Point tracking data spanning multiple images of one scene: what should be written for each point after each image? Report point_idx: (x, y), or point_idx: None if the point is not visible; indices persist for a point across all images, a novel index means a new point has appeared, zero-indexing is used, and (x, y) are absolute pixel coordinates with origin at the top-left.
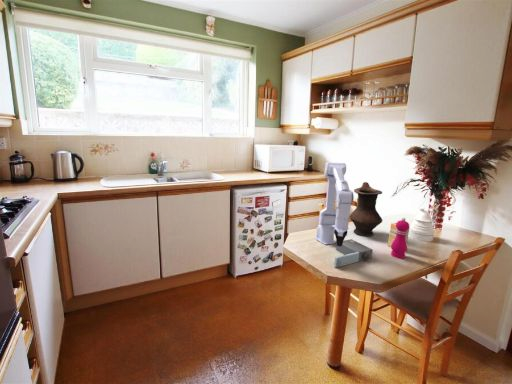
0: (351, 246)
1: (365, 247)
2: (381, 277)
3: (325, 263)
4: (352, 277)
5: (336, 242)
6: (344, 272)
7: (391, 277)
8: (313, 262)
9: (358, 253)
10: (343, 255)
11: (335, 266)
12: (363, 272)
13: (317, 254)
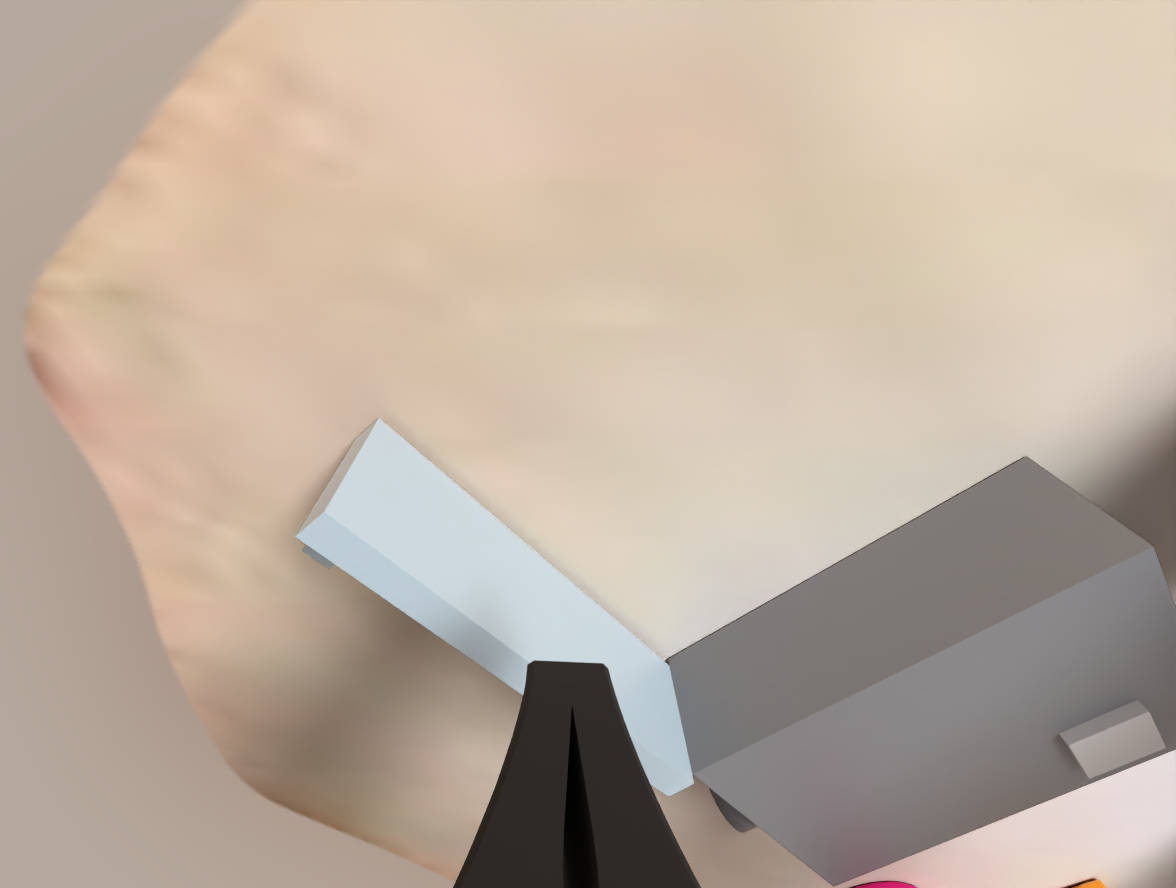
0: (919, 724)
1: (892, 840)
2: (369, 804)
3: (457, 282)
4: (196, 606)
5: (512, 739)
6: (281, 534)
7: (412, 852)
8: (400, 25)
9: (658, 783)
10: (476, 634)
11: (354, 441)
12: (400, 699)
13: (823, 122)
